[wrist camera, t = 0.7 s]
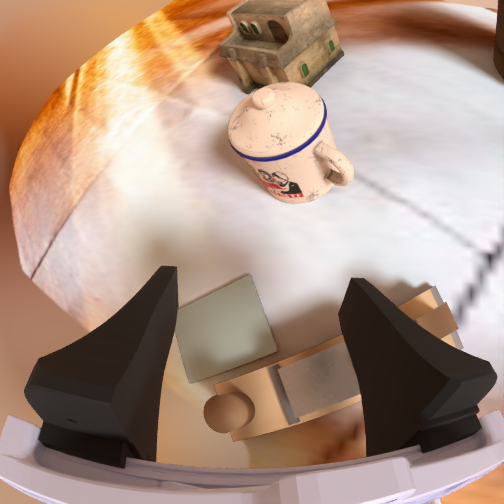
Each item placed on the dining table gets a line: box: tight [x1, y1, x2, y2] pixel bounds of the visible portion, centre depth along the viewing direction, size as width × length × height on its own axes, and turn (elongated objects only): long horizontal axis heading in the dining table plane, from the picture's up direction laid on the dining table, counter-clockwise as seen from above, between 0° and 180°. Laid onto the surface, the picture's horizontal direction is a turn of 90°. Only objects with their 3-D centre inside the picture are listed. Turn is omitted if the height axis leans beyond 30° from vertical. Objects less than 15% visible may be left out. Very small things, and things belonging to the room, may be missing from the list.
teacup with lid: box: [228, 82, 354, 204], centre depth 26 cm, size 12×9×12 cm
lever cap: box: [278, 341, 360, 418], centre depth 20 cm, size 8×4×3 cm, turn 110°
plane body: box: [204, 286, 463, 442], centre depth 21 cm, size 22×6×6 cm, turn 110°
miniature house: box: [219, 0, 344, 94], centre depth 34 cm, size 15×14×11 cm
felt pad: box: [175, 275, 278, 383], centre depth 30 cm, size 8×10×1 cm
